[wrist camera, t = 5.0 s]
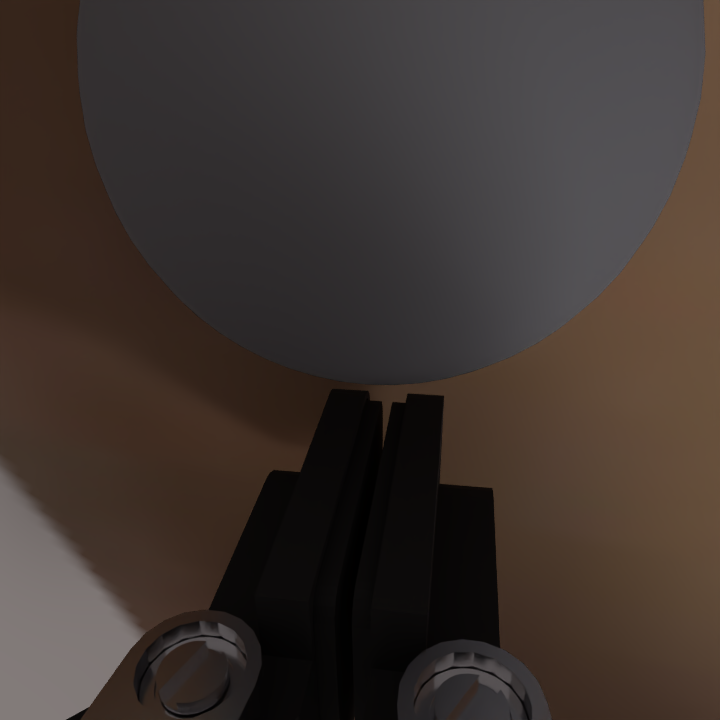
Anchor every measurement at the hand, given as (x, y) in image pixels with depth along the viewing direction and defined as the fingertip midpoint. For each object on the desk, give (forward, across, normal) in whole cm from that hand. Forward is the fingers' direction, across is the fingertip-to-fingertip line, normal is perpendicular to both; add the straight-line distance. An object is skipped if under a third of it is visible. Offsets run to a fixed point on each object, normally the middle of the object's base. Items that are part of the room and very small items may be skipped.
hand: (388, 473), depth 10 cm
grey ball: (-1, 0, -6) cm, 6 cm away
